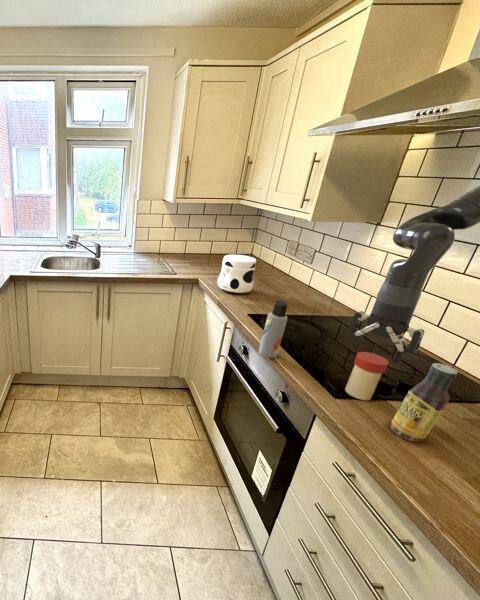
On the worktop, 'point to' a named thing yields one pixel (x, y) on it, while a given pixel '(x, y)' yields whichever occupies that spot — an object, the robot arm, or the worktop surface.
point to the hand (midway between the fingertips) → (374, 354)
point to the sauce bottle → (424, 404)
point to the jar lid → (371, 362)
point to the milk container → (237, 274)
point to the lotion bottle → (274, 330)
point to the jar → (362, 383)
